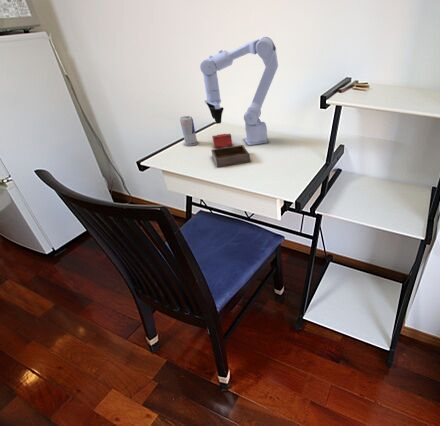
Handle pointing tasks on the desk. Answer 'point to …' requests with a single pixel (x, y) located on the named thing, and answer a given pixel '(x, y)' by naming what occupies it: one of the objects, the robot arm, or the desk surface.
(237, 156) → the crate
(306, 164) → the desk surface
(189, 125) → the energy drink
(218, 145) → the red block
